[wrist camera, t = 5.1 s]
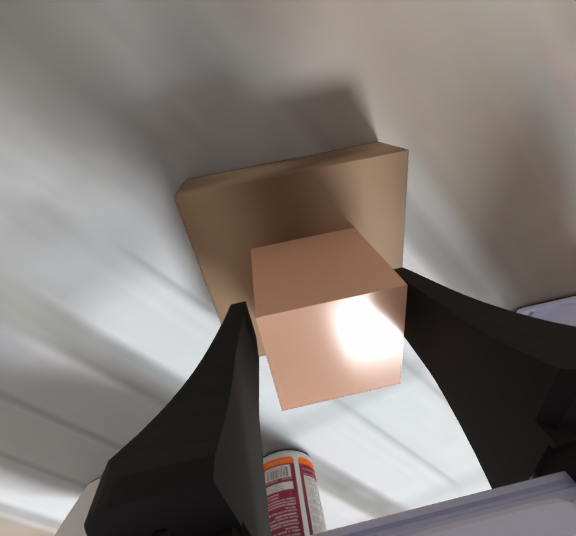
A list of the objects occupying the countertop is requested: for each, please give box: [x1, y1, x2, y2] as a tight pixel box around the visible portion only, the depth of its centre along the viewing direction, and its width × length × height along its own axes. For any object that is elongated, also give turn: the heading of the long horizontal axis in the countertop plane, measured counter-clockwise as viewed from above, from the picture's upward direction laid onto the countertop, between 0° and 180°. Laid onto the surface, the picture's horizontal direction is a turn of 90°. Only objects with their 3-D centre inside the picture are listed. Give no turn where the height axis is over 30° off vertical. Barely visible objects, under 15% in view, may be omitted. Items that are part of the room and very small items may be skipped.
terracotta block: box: [251, 227, 407, 411], centre depth 13 cm, size 5×5×5 cm
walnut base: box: [174, 142, 409, 357], centre depth 16 cm, size 10×10×3 cm
